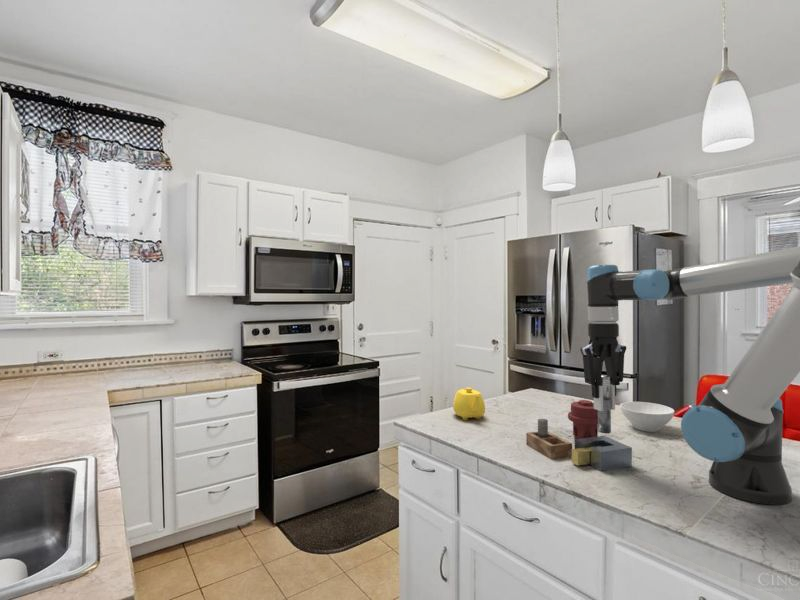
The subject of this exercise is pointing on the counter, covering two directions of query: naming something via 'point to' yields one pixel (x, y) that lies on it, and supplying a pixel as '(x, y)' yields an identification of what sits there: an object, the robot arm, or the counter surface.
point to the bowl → (647, 415)
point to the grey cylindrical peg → (605, 407)
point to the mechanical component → (584, 419)
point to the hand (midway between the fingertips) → (604, 408)
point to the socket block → (606, 452)
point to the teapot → (469, 404)
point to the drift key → (581, 456)
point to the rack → (548, 442)
